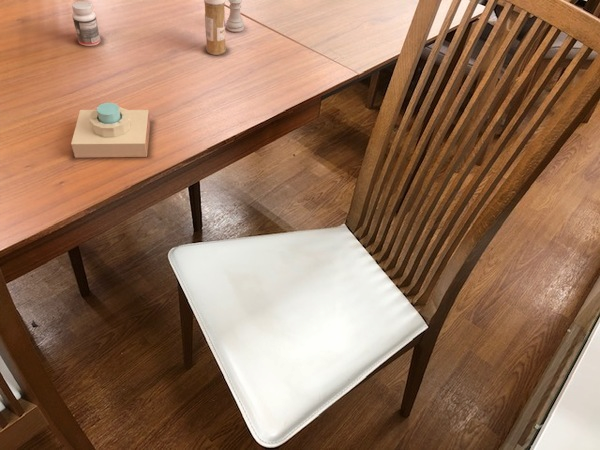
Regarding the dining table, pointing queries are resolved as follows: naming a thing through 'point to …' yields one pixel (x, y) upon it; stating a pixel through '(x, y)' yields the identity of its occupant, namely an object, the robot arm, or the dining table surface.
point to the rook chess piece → (235, 17)
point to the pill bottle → (85, 23)
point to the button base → (111, 135)
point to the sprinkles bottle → (215, 26)
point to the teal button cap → (108, 113)
